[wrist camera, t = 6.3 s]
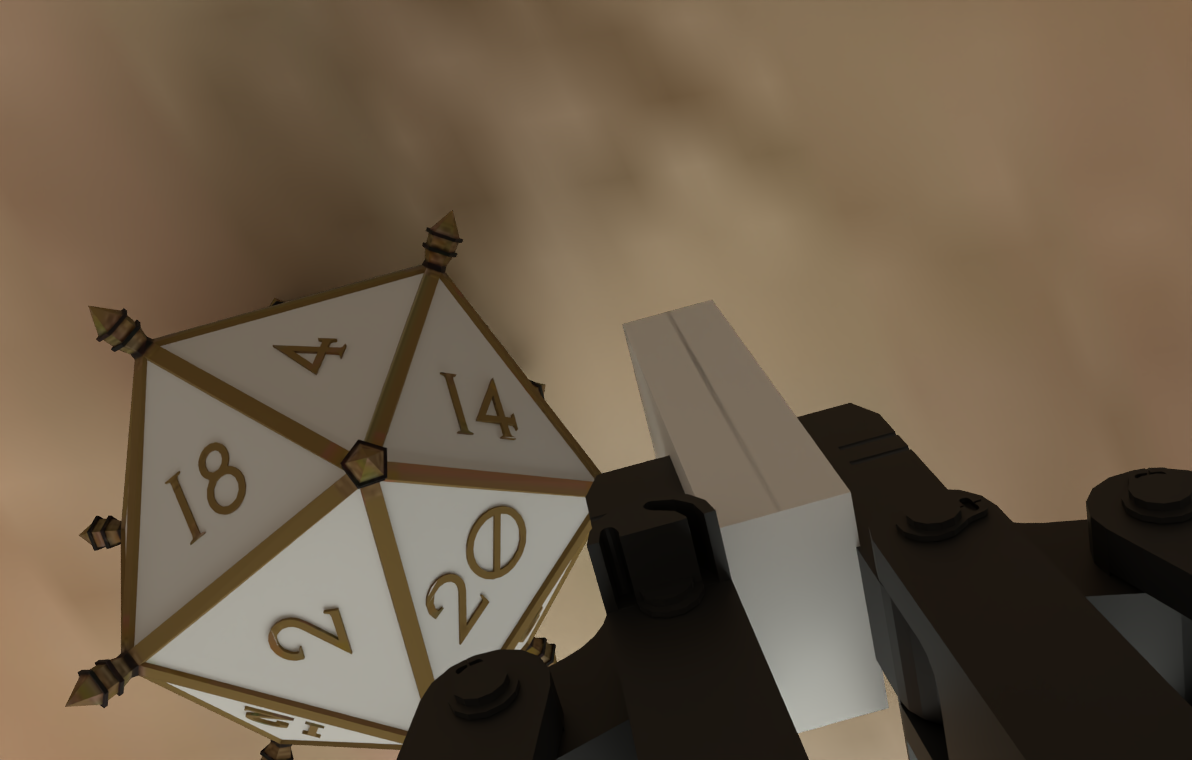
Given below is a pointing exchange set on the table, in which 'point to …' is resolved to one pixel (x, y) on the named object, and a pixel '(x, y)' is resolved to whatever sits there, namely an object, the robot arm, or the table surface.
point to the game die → (335, 507)
